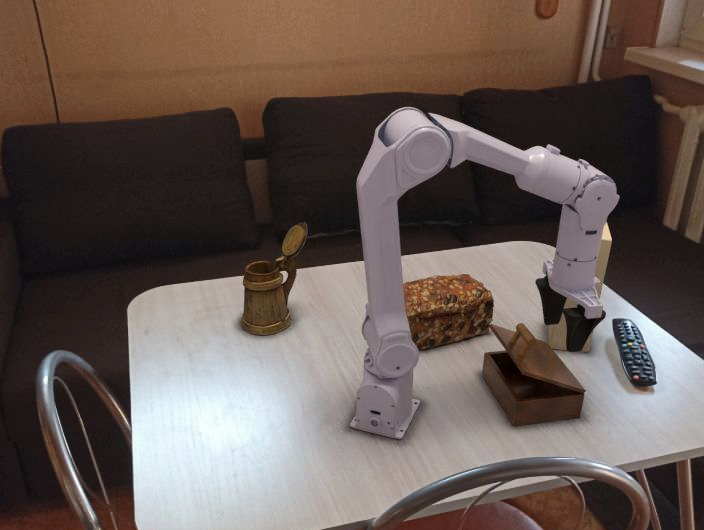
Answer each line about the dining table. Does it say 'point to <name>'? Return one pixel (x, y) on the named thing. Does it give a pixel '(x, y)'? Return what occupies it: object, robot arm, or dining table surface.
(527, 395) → the trinket box
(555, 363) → the box lid
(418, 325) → the bread
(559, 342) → the beige tall block
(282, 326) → the wooden mug
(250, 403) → the dining table surface
